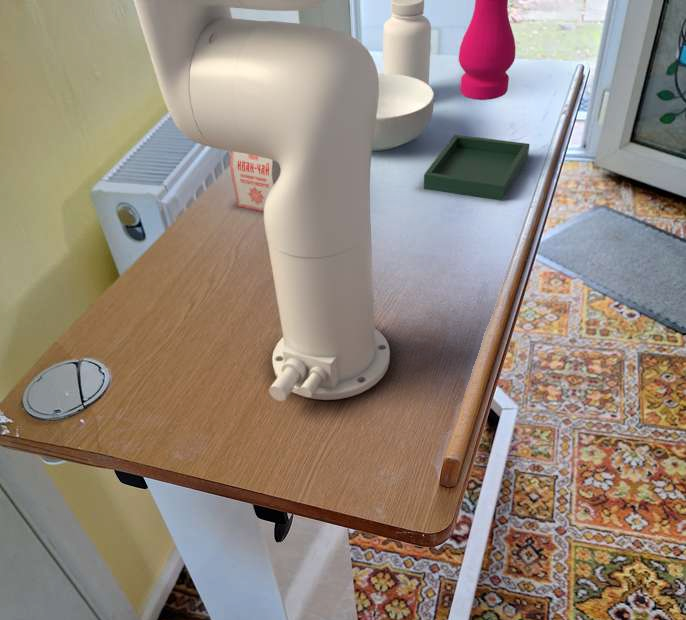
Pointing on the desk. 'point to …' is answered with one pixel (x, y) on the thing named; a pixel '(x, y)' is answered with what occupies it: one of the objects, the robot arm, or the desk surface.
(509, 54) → the pepper mill
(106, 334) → the desk surface
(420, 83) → the cereal bowl
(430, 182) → the tray
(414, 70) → the pill bottle
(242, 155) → the printed tea carton
